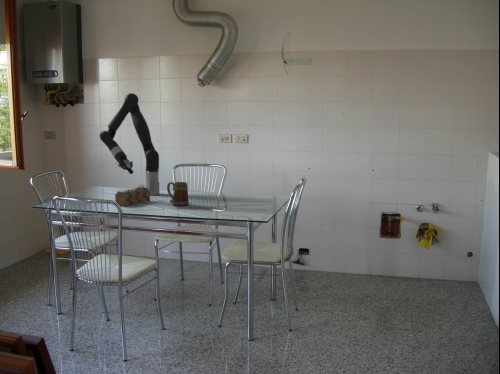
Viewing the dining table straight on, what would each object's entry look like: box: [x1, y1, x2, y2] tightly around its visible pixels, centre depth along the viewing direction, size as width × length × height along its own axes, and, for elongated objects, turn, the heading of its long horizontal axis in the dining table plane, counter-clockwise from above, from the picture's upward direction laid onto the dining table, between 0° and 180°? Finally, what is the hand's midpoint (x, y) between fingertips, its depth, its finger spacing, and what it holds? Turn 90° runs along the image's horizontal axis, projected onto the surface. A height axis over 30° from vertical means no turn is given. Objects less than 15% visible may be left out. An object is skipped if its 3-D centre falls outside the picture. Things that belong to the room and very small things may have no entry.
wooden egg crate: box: [114, 187, 151, 208], centre depth 333 cm, size 24×8×9 cm, turn 150°
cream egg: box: [137, 184, 146, 189], centre depth 339 cm, size 5×5×2 cm
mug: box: [166, 181, 190, 208], centre depth 330 cm, size 16×11×15 cm
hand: (132, 173), depth 342 cm, fingers closed
